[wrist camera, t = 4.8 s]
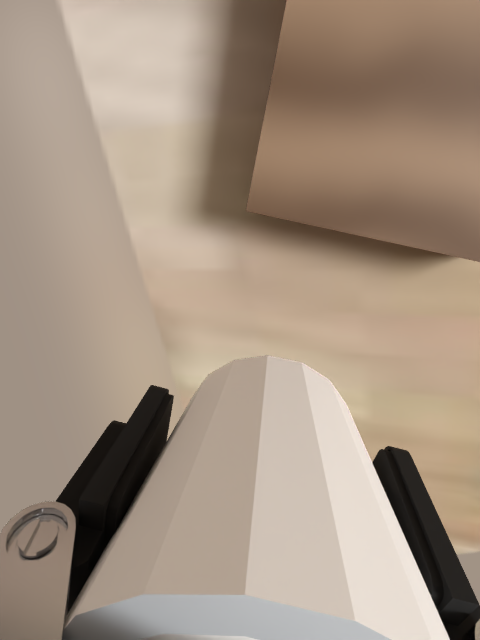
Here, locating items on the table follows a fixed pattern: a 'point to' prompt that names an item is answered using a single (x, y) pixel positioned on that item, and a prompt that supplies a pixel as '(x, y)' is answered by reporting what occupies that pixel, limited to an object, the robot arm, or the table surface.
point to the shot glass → (259, 526)
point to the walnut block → (376, 122)
